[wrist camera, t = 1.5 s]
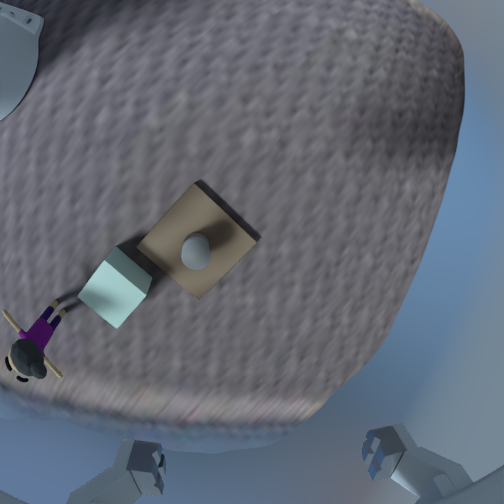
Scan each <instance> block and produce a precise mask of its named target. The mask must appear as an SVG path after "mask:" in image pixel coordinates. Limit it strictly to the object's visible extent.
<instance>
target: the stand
mask: <svg viewBox="0 0 504 504" xmlns="http://www.w3.org/2000/svg"><path fill="white" fill-rule="evenodd" d="M256 243H257V242H256V240H255V239H254V238H252V237H251V236H250V235H249V234H248V233H247V232H246V231H245V230H244V229H243V228H242V227H241V226H240V225H239V224H238V223H237V222H236V221H235V220H234V219H232V218H231V217H230V216H229V215H228V214H227V213H226V212H225V211H224V210H223V209H222V208H221V207H220V206H219V205H218V204H217V203H216V202H215V201H213V200H212V199H211V198H210V197H209V196H208V195H207V194H206V193H205V192H204V191H203V190H202V189H201V188H200V187H199V186H198V185H196V184H195V183H193V184H192V185H191V186H190V188H189V189H188V190H187V191H186V192H185V193H184V194H183V195H182V196H181V197H180V198H179V199H178V200H177V201H176V202H175V204H174V205H173V206H172V207H171V208H170V209H169V210H168V211H167V212H166V213H165V215H164V216H163V217H162V218H161V219H160V220H159V221H158V222H157V223H156V225H155V226H154V227H153V228H152V229H151V230H150V231H149V233H148V234H147V235H146V236H145V237H144V238H143V239H142V241H141V242H140V243H139V244H138V245H137V247H136V248H137V249H139V250H140V251H141V252H142V253H143V254H144V255H145V256H147V257H148V258H149V259H150V260H151V261H152V262H154V263H155V264H156V265H157V266H158V267H160V268H161V269H162V270H163V271H164V272H165V273H167V274H168V275H169V276H170V277H171V278H173V279H174V280H175V281H176V282H178V283H179V284H180V285H181V286H182V287H184V288H185V289H186V290H187V291H189V292H190V293H191V294H192V295H193V296H195V297H196V298H197V299H198V300H200V299H201V298H202V297H203V296H204V295H205V294H206V293H207V292H208V291H209V290H210V289H211V288H212V287H213V286H214V285H215V284H216V283H217V282H218V281H219V280H220V279H221V278H222V277H223V276H224V275H225V274H226V273H227V272H228V271H229V270H230V269H231V268H232V267H233V266H234V265H235V264H236V263H237V262H238V261H239V260H240V259H241V258H242V257H243V256H244V255H245V254H246V253H247V252H248V251H249V250H250V249H251V248H252V247H253V246H254V245H255V244H256Z"/></svg>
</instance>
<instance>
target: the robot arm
mask: <svg viewBox="0 0 504 504" xmlns="http://www.w3.org/2000/svg"><path fill="white" fill-rule="evenodd" d="M30 21H31V22H30ZM29 22H30V23H29ZM43 24H44V18H43V17H41V16H39V15H37V14H34V13H31V12H28V11H26V10H23V9H20V8H17V7H14V6H11V5H8V4H5V3H1V2H0V120H2V119H3V118H5V117H6V116H7V115H8V114H9V113H11V112H12V111H13V109H14V108H15V107H16V106H17V105H18V104H19V102H20V101H21V100H22V98H23V97H24V95H25V93H26V92H27V90H28V88H29V86H30V84H31V81H32V79H33V76H34V74H35V70H36V67H37V62H38V39H39V36H40V33H41V30H42V27H43ZM366 438H367V440H366V441H365V442H364V443H363V446H362V458H363V461H364V463H366V464H367V465H369V468H368V472H369V475H370V477H371V479H372V481H377V480H381V479H385V478H388V477H391V478H392V479H393V480H394V481H396V482H397V483H399V484H400V485H402V486H403V487H405V488H406V489H407V490H409V491H411V492H412V493H413V494H415V495H416V496H418V497H419V499H418V500H417V502H416V503H415V504H504V465H503V466H501V467H500V468H498V469H496V470H495V471H493V472H491V473H490V474H488V475H486V476H485V477H483V478H481V479H479V480H478V481H476V482H474V483H473V481H472V480H471V479H470V477H469V475H468V474H467V473H466V471H465V470H464V468H463V467H462V465H460V464H458V463H456V462H454V461H451V460H449V459H447V458H445V457H442V456H440V455H438V454H436V453H434V452H432V451H429V450H427V449H425V448H423V447H417V445H416V443H415V442H414V440H413V438H412V437H411V435H410V434H409V432H408V431H407V429H406V428H405V426H404V425H403V424H402V423H399V424H395V425H391V426H386V427H382V428H378V429H373V430H369V431H368V432H367V434H366ZM162 450H163V448H162V445H161V443H153V442H146V441H138V440H130V439H123V440H122V441H121V444H120V447H119V450H118V453H117V456H116V459H115V462H114V465H113V468H112V467H109V468H107V469H106V470H105V471H103V472H102V473H100V474H99V475H97V476H96V477H94V478H93V479H91V480H90V481H89V482H87V483H86V484H84V485H83V486H81V487H80V488H78V489H76V490H75V491H73V492H72V493H71V494H70V496H69V498H68V501H67V504H133V503H134V502H136V500H138V499H139V498H140V497H141V494H142V495H150V496H160V497H161V496H162V494H163V488H164V483H163V480H162V478H163V477H165V475H166V459H165V456H164V454H162ZM0 504H29V503H26V502H24V501H22V500H20V499H18V498H15V497H13V496H11V495H9V494H7V493H5V492H3V491H1V490H0Z"/></svg>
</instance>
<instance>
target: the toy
mask: <svg viewBox="0 0 504 504" xmlns="http://www.w3.org/2000/svg"><path fill="white" fill-rule="evenodd" d="M57 305H58V302H57V301H56V300H55V301H53V302H52V303H51V304H50V306H49V307H48V308H47V309H46V310H45V311H44V313H43V314H42V315H41V316H40V318H39V319H37V320H36V322H35V323H34V324H33V325H32V327H31V328H30V329H29V330H28V331H27V332H25V331H23V329H21V328H20V327H19V326H18V324H17V323H16V322H15V321H14V320H13V318H12V317H11V316H10V315H9V313H8V312H7V311H6V310H3V314H4V316H5V317H6V318H7V320H8V321H9V322H10V324H11V325H12V326H13V327H14V328H15V329H16V330H17V332H18V333H19V335H20V336H21V338H22V339H19V340H17V341H16V342H15V343H14V344H13V345H12V347H11V349H10V351H9V359H8V357H6V358H5V363H6V366H7V368H8V370H9V371H11V370H12V368H13V369H14V370H15V371H17V372H18V373H20V374H24V375H27V376H34V377H36V378H38V379H43V378H44V377H45V376H46V374H47V369H46V367H45V365H44V362H45V363H46V364H47V365H48V366H49V368H50V369H51V370H52V371H53V372H54V373H55V374H56V375H57V376H58V377H60V378H62V377H63V375H62V374H61V372H60V371H59V370H58V369H57V368H56V367H55V366H54V365H53V364H52V363H51V362H50V361H49V360H48V359H47V358H46V356H45V354H44V352H43V351H44V348H45V346H46V345H47V343H48V341H49V340H50V338H51V336H52V335H53V332H54V330H55V329H56V327H57V326H58V324H59V323H60V321H61V319H62V318H63V316H64V315H65V310H64V309H62V310H60V311H58V313H57V315H56V316H55V317H54V319H53V320H52V321H51V323H50V324H49V323H48V322H47V320H48V318H49V317H50V316H51V314H52V313H53V311H54V309H55V308H56V307H57ZM9 362H10V364H11V366H12V368H11V366H10V364H9ZM17 379H18V380H19V381H21V382H27V381H28V378H22V377H20V376H17Z"/></svg>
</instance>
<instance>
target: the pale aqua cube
mask: <svg viewBox="0 0 504 504" xmlns="http://www.w3.org/2000/svg"><path fill="white" fill-rule="evenodd" d="M152 278H153V277H151V276H150V275H149V274H148V273H147V272H145V271H144V270H143V269H142V268H141V267H139V266H138V265H137V264H136V263H135V262H134V261H132V260H131V259H130V258H129V257H128V256H127V255H125V254H124V253H123V252H122V251H121V250H120V249H119V248H118V247H116V246H115V248H114V249H113V250H112V251H111V252H110V254H109V255H108V256H107V258H106V259H105V260H104V261H103V263H102V264H101V265H100V266H99V268H98V269H97V270H96V272H95V273H94V274H93V276H92V277H91V278H90V280H89V281H88V282H87V284H86V285H85V286H84V288H83V289H82V291H81V292H80V293H79V295H78V296H77V297H78V298H79V299H81V300H82V301H83V302H84V303H85V304H87V305H88V306H89V307H90V308H91V309H93V310H94V311H95V312H96V313H98V314H99V315H100V316H101V317H103V318H104V319H105V320H106V321H108V322H109V323H110V324H112V325H113V326H114V327H115V328H118V327H119V326H120V325H121V324H122V323H123V321H124V320H125V319H126V318H127V317H128V316H129V315H130V313H131V312H132V311H133V310H134V309H135V308H136V307H137V306H138V305H139V303H140V302H141V301H142V300H143V299H144V298H145V297H146V296H147V293H148V290H149V287H150V284H151V281H152Z"/></svg>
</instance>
